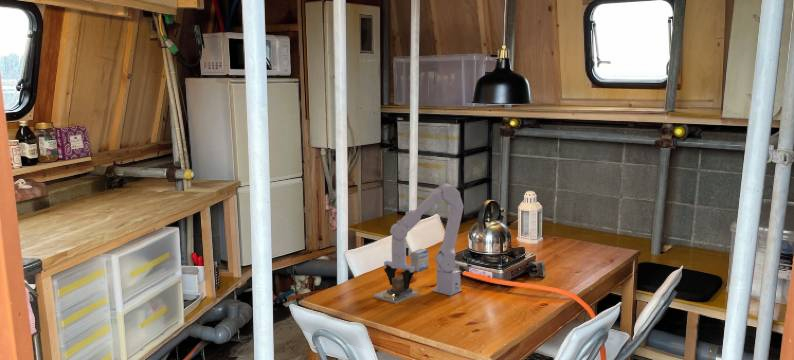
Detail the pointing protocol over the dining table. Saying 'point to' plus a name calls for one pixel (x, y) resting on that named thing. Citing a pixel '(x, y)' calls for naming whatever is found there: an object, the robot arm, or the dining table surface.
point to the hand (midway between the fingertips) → (399, 286)
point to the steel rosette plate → (396, 295)
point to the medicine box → (419, 259)
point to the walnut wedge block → (398, 284)
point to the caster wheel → (536, 269)
